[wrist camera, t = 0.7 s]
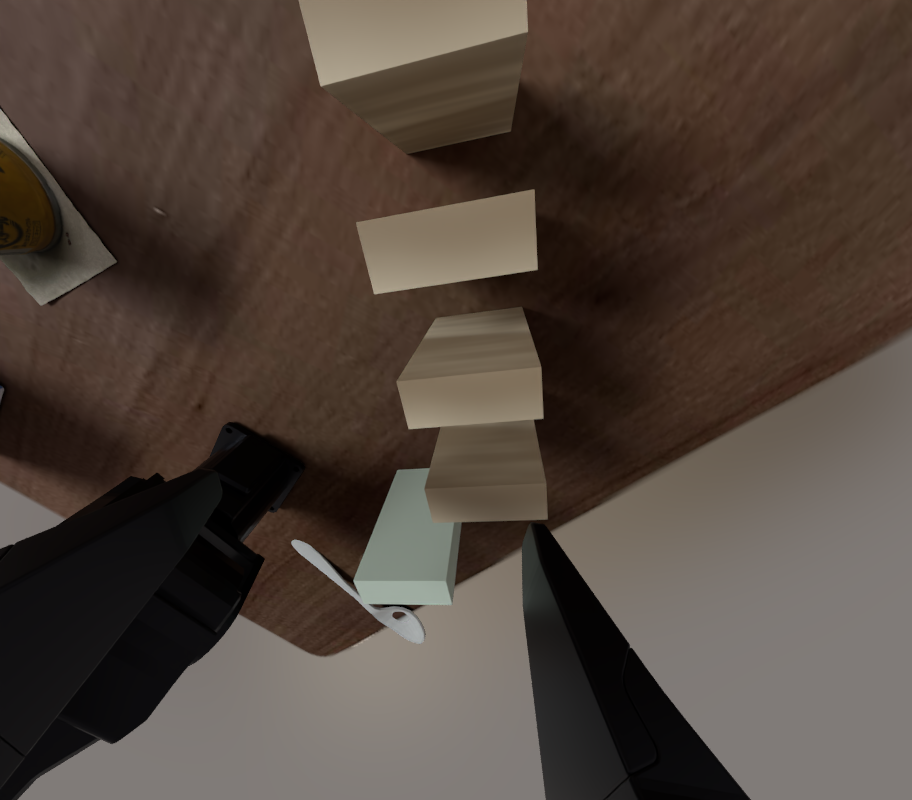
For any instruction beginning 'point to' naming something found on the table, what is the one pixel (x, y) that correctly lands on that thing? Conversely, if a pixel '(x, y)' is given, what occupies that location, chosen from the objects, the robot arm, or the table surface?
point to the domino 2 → (451, 243)
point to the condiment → (42, 225)
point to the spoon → (405, 626)
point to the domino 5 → (409, 549)
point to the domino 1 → (421, 65)
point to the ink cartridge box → (1, 392)
